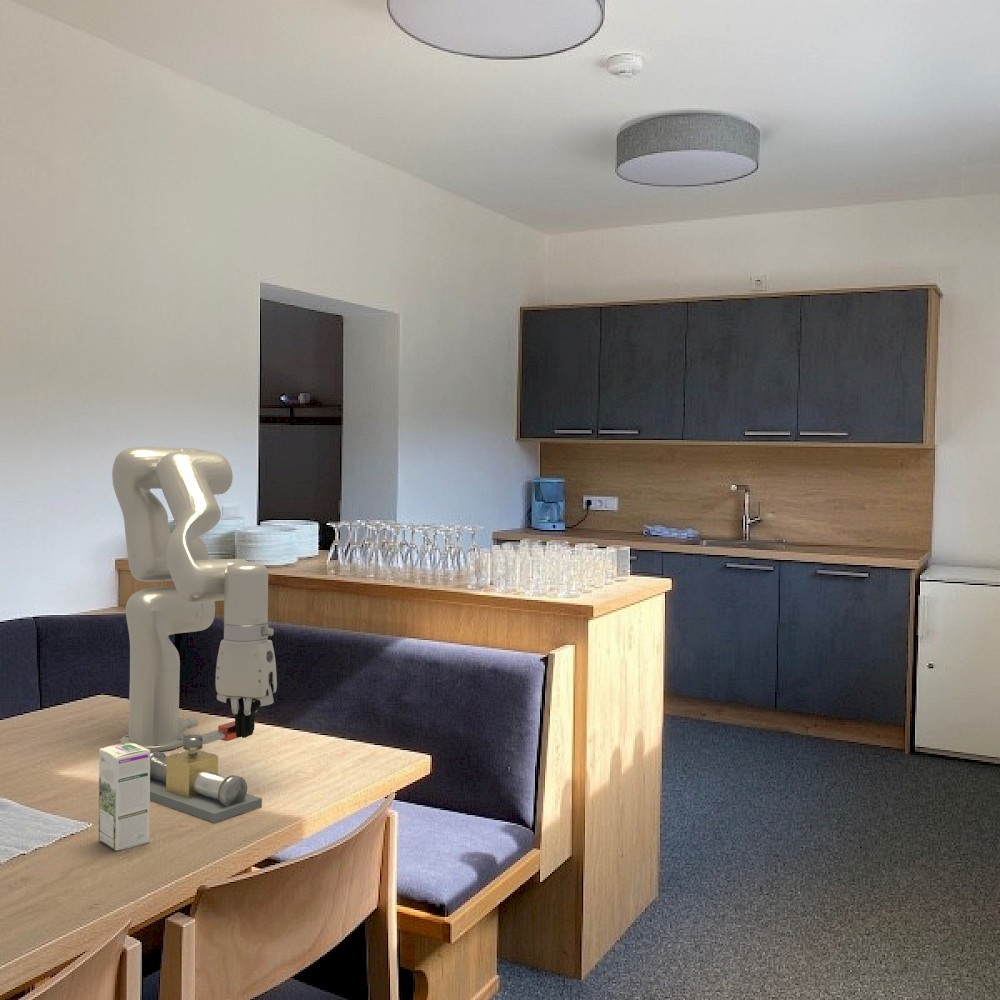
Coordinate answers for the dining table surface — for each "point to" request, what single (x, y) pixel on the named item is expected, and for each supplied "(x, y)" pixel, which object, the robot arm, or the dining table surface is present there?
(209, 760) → the valve pipe
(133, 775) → the syrup box
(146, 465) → the robot arm
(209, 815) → the slate board
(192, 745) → the valve lever
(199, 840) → the dining table surface
